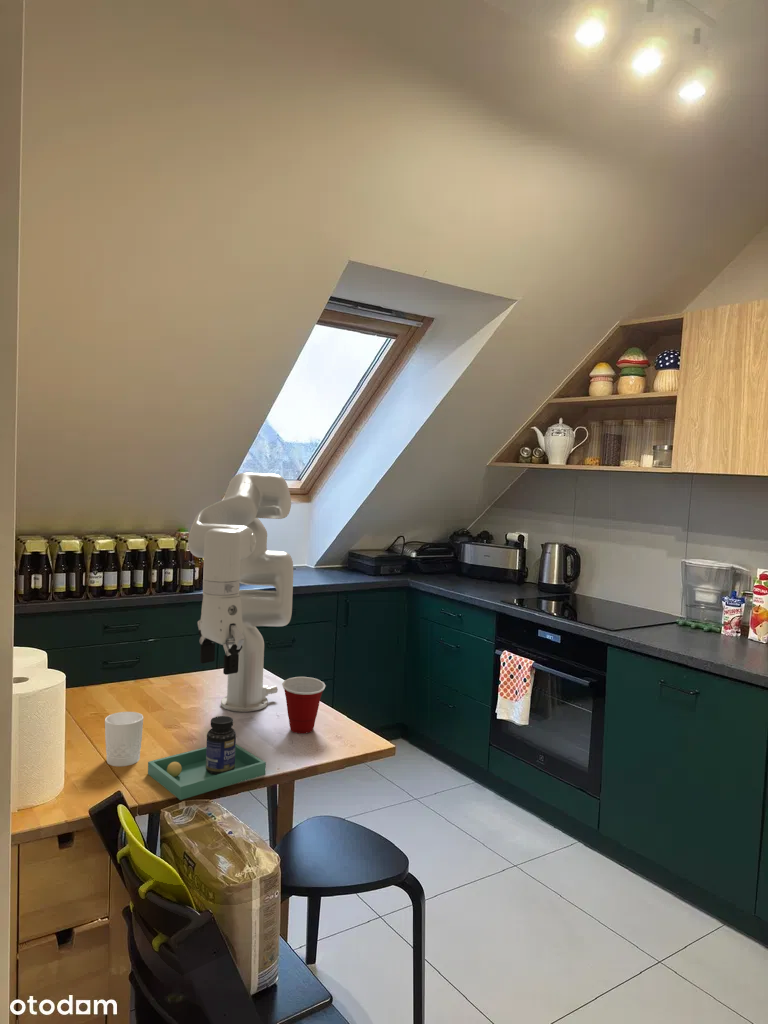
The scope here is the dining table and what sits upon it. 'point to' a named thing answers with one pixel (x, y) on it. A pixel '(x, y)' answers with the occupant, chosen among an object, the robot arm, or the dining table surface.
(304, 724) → the plastic cup
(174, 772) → the ball
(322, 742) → the dining table surface
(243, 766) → the tray
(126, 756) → the white cup
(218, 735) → the pill bottle
